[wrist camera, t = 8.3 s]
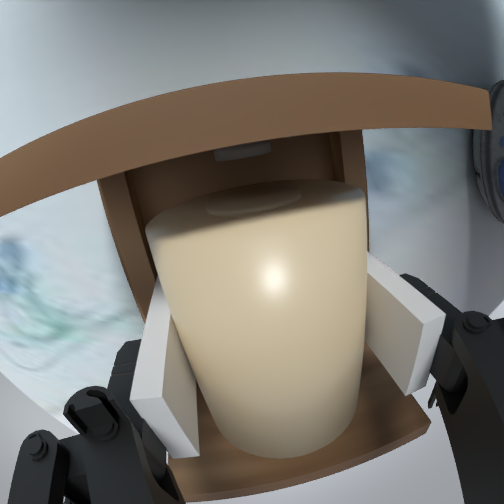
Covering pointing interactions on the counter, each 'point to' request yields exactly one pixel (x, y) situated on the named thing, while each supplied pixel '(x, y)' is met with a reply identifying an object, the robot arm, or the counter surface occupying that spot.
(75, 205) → the counter surface
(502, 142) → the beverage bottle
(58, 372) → the counter surface
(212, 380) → the cylinder
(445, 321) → the robot arm
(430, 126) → the holder
